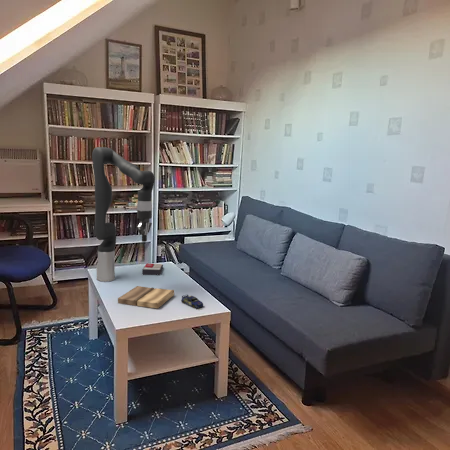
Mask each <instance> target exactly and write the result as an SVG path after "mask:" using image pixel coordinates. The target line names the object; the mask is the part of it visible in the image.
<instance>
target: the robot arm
mask: <svg viewBox="0 0 450 450" xmlns="http://www.w3.org/2000/svg"><path fill="white" fill-rule="evenodd" d="M91 158H92V167H93V175H94V201H95V203H94V207H95V208H94V209H95V210H94V212H95V214H94V229H93V232H94V236H95V237H96V239H97V240H98V241H102V242H101V243H99V245H97V263H96V265H95V266H96V267H95V268H96V280H97V281H99V282H102V283H103V282H104V283H105V282H112V281H114V280H115V278H116V275H115V274H116V272H115V271H116V269H115V266H116V265H115V262H116V261H115V260H116V259H115V256H116V254H115V247H116V244H117V228H116V225H115V224H114V223H113V222H109V221H108V222H107V221H106V219H107V214H108V211H109V209H110V207H111V205H112V202H113V188H112V185H111V183H110V181H109V179H108V177H107V176H106V174H105V165H112V166H115V167H117V168H118V170H119V171H120V172H121V173H122V174H124V175H125V176H127V177H128V178H130V179H131V180H132V181H133V182H134V183H136V184H138V185H139V186H141V185H142V188H140V189H139V190H138V191H137V204H136V211H137V212H136V216H137V217H136V218H137V219H139V222H138V223H139V224H138V225H137V226H136V229H137V231H138V233H139V235H141V242H143V243H145V242H147V241H148V233H150V231H151V228H152V224H153V223H152V222H150V219H152V217H153V215H152V214H153V202H152V193H153V189H154V186H155V180H156V179H155V178H156V177H155V174H154V173H153V172H152V170H151V171H150V170H141V169H140V167H139V166H138V165H136V164H134V163H132V162H130V161H129V160H127V159H125V158H123V157H122V156H121V155H120V154H119V153H117V152H116V151H115V150H113V149H112V148H110V147H103V146H98V147H97V146H96V147H95V148H94V149H93V150H92V156H91Z"/></svg>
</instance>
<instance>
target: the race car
mask: <svg viewBox="0 0 450 450" xmlns="http://www.w3.org/2000/svg"><path fill="white" fill-rule="evenodd" d="M180 301H181V303H182V304H184V305H186V306H189V307H191V308H192V309H196V311H201V310H203V307H204V303H203V301H201V300H199V299H198V298H197V297H196V296H194V295H189V294H185V295H181V300H180Z"/></svg>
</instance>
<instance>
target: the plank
mask: <svg viewBox="0 0 450 450" xmlns="http://www.w3.org/2000/svg"><path fill="white" fill-rule="evenodd" d="M174 296H175V289H167V288H165V289H164V288H157V287H156V288H155V287H154V289H153V290H152V291H151V292H149V293H148V294H146V295H145V296H144V297H142V298H141V299H139V300H138V301H137V306H136V307H144V308H151V309H159V308H161V307H162V306H163V305H164V304H165V303H166V302H167V301H169V300H170V299H171V298H173V297H174Z"/></svg>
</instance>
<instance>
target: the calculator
mask: <svg viewBox="0 0 450 450" xmlns="http://www.w3.org/2000/svg"><path fill="white" fill-rule="evenodd" d="M162 269H164V264H163V263H149V262H148V263H146V264H145V265H144V266H143V268H142V270H141V271H142V273H141V275H142V274H143V275H142V276H161V275H162V271H163V270H162ZM160 274H161V275H160Z"/></svg>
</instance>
